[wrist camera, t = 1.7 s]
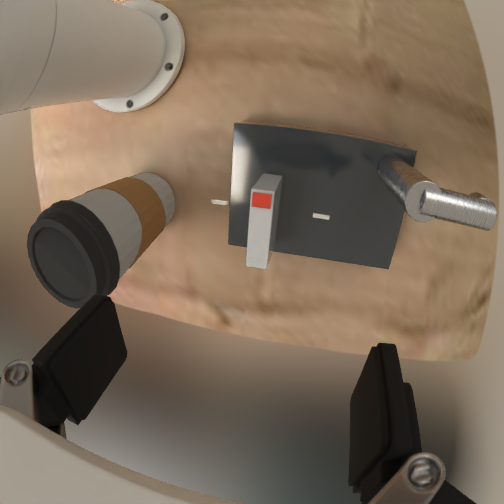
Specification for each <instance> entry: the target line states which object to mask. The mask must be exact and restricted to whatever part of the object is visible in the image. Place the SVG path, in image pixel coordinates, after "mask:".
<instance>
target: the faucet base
mask: <svg viewBox="0 0 504 504" xmlns="http://www.w3.org/2000/svg"><path fill="white" fill-rule="evenodd" d="M416 152H417V151H416V150H414V149H412V148H410V147H408V146H406V145H402V144H398V143H394V142H389V141H385V140H380V139H375V138H370V137H365V136H360V135H354V134H348V133H343V132H337V131H330V130H324V129H317V128H310V127H302V126H294V125H285V124H276V123H266V122H254V121H241V122H236V123H234V137H233V154H232V172H231V192H230V212H229V235H228V244H229V245H236V246H243V247H247V240H248V226H249V212H250V198H251V189H252V187H253V186H254V185H255V183H256V182H257V181H258V180H259V178H260V177H261V176H262V175H263V173H265V174H273V175H281V176H282V186H281V195H280V205H279V214H278V223H277V232H276V241H275V244H274V248H273V251H275V252H282V253H288V254H294V255H301V256H307V257H314V258H320V259H327V260H333V261H339V262H346V263H352V264H359V265H365V266H371V267H378V268H384V269H389V266H390V263H391V259H392V256H393V252H394V249H395V245H396V242H397V238H398V234H399V230H400V227H401V223H402V219H403V214H404V210H405V209H404V208H403V207H402V205H401V204H400V203H399V201H398V200H397V199H396V198H395V196H394V195H393V194H392V193H391V191H390V190H389V189H388V188H387V186H386V185H385V184H384V183H383V181H382V180H381V179H380V178H379V176H378V174H377V164H378V162H379V160H380V159H381V158H382V157H384V156H386V155H395V156H397V157H399V158H400V159H401V160H403V161H404V162H406V163H407V164H409V165H410V166H412V167H413V168H414V163H415V157H416ZM227 203H228V201H224V200H215V199H212V204H220V205H227Z"/></svg>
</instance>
